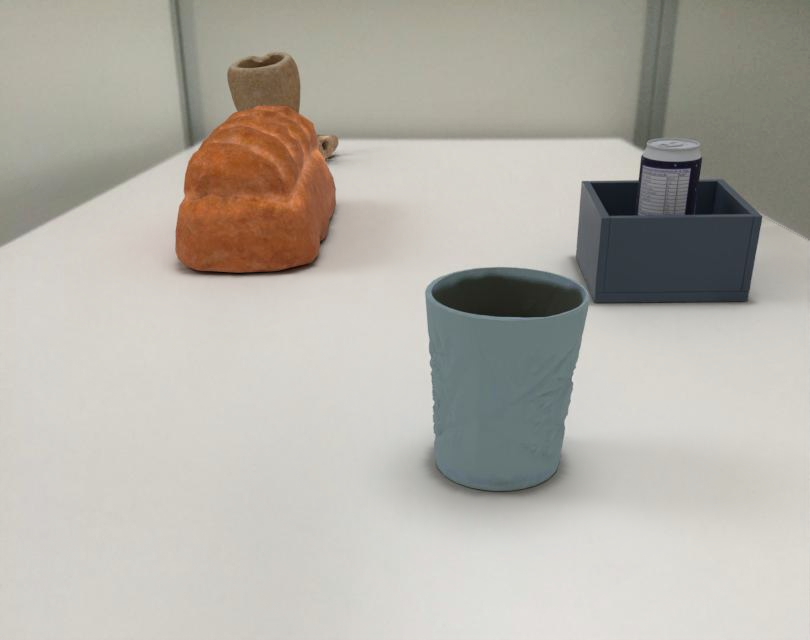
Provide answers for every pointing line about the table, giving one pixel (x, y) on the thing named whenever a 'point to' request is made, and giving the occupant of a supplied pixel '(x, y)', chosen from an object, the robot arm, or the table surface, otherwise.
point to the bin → (666, 246)
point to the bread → (255, 195)
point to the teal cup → (502, 372)
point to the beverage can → (669, 177)
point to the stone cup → (271, 88)
